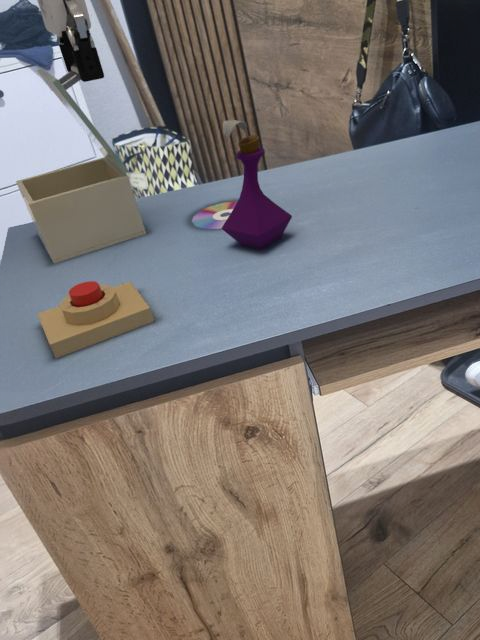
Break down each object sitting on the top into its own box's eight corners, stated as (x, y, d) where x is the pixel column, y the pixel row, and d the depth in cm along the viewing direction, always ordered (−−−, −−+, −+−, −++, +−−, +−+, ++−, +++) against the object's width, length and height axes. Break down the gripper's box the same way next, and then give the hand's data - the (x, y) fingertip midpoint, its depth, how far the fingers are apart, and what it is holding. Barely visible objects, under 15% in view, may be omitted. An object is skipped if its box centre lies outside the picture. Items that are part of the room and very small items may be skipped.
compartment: (54, 264, 97) (28, 204, 92) (39, 237, 107) (15, 181, 102) (146, 234, 103) (127, 175, 97) (124, 211, 113) (106, 156, 107)
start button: (77, 311, 76) (71, 299, 75) (71, 300, 79) (65, 288, 78) (106, 301, 78) (102, 288, 77) (99, 290, 80) (95, 278, 79)
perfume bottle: (259, 228, 100) (234, 109, 89) (296, 236, 96) (274, 112, 85) (225, 248, 95) (195, 125, 85) (263, 257, 91) (235, 129, 81)
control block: (56, 359, 75) (43, 331, 73) (43, 328, 82) (31, 301, 79) (155, 322, 79) (145, 294, 77) (135, 295, 86) (126, 269, 84)
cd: (267, 200, 109) (267, 199, 109) (247, 228, 100) (247, 227, 100) (206, 202, 111) (205, 202, 111) (181, 230, 102) (181, 230, 102)
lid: (52, 82, 87) (86, 58, 88) (36, 70, 97) (66, 49, 98) (124, 174, 97) (154, 152, 98) (103, 155, 107) (130, 135, 108)
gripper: (5, -57, 90) (49, 73, 99) (23, -60, 77) (71, 89, 87) (59, -63, 93) (97, 63, 102) (85, -68, 80) (126, 77, 90)
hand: (85, 75), depth 95 cm, fingers open, 9 cm apart
